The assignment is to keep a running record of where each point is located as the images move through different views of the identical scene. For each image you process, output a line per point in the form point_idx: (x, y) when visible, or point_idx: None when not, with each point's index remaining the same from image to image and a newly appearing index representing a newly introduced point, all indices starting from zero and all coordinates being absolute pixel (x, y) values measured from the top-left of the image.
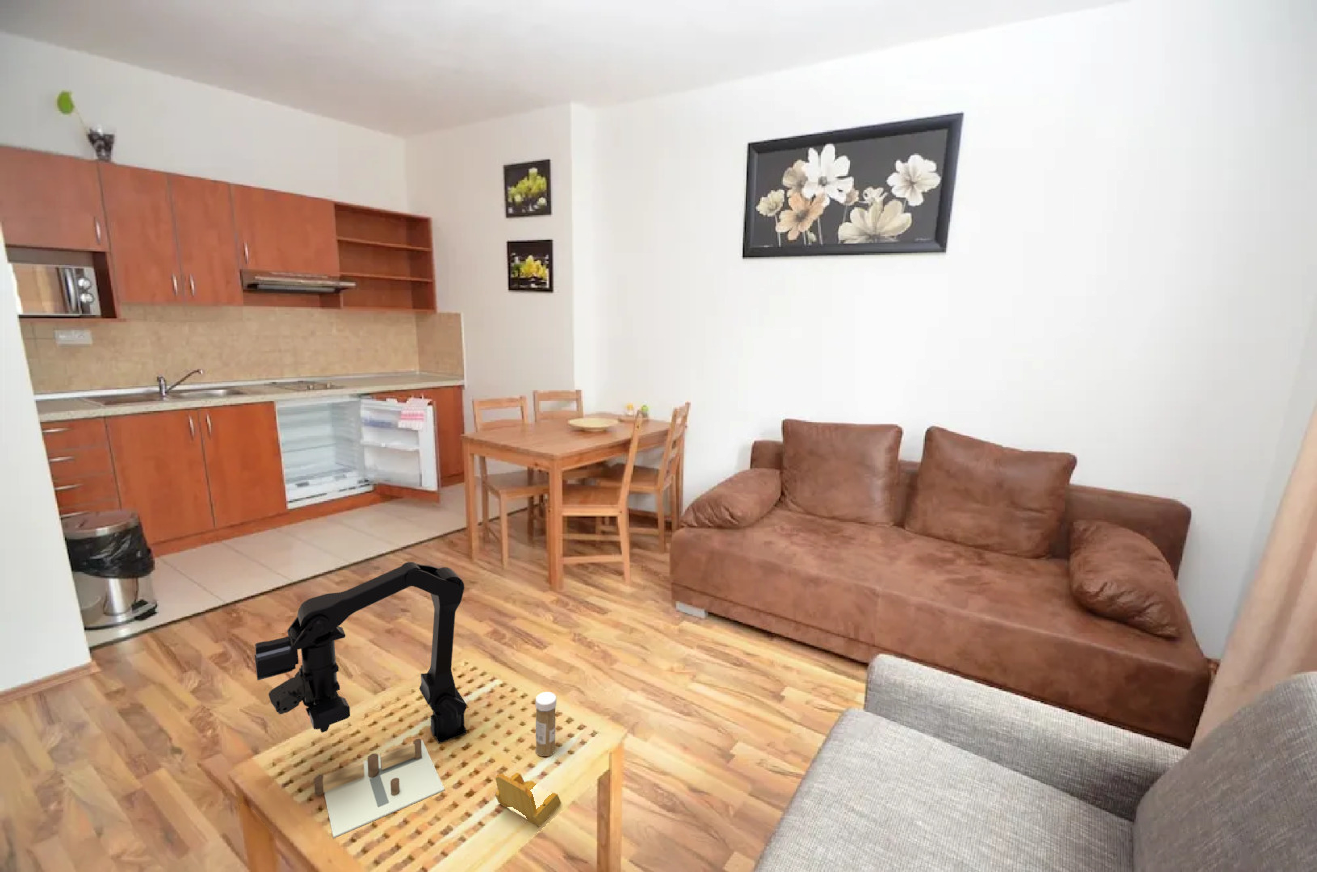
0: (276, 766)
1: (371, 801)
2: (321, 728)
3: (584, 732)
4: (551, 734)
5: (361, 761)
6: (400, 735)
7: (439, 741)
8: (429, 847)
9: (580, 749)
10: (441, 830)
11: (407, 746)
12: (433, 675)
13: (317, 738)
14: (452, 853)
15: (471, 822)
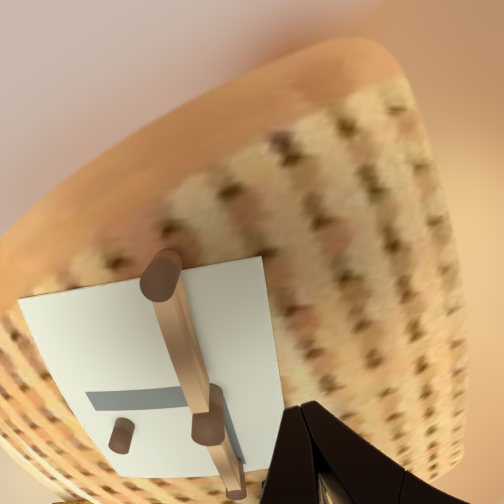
0: (383, 115)
1: (105, 383)
2: (276, 447)
3: None
4: None
5: (206, 408)
6: None
7: (263, 485)
8: (10, 427)
9: None
10: (38, 447)
11: (228, 483)
12: None
13: (447, 231)
14: (6, 441)
15: (53, 473)
